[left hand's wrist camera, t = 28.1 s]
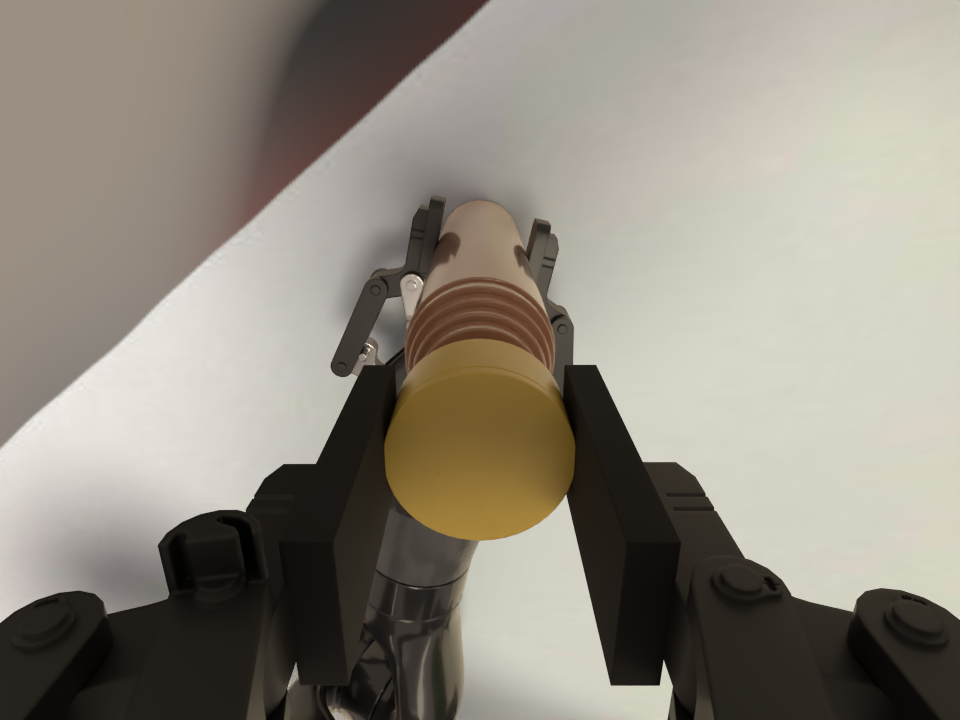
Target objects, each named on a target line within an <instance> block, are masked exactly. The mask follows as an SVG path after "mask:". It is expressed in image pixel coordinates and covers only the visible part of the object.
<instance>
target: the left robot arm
mask: <svg viewBox="0 0 960 720" xmlns="http://www.w3.org/2000/svg"><path fill="white" fill-rule="evenodd" d="M396 400H397V391H396V373H395V365H363V367H362V370H361V372H360V374H359V376H358V378H357V380H356V382H355V384H354V386H353V388H352V390H351V392H350V394H349V397H348V399H347V401H346V403H345V405H344V407H343V409H342V411H341V413H340V415H339V417H338V419H337V421H336V424H335V426H334V428H333V430H332V432H331V434H330V436H329V438H328V440H327V442H326V444H325V446H324V448H323V451H322V453H321V455H320V457H319V459H318V461H317V463H316V464H283V465H282V466H281V467H279V468H278V469H277V470H275V471H274V472H273V473H272V474H270V475H269V476H268V477H266V478H265V479H264V481H263V482H262V484H261V485H260V487H259V489H258V490H257V492H256V494H255V495H254V499H252V500H251V502H250V504H249V505H248V507H247V509H246V512H242V511H239V510H218V511H214V512H209V513H205V514H200V515H198V516H196V517H193V518H191V519H189V520H186V521H184V522H182V523H180V524H179V525H178V526H176V527H175V528H173V529H172V530H171V531H169V532H168V533H167V534H166V535H165V536H164V538H163V539H162V540H161V542H160V543H159V544H158V549H159V553H160V557H161V561H162V565H163V569H164V573H165V577H166V581H167V585H168V590H169V597H168V599H166V600H163V601H160V602H157V603H153V604H150V605H146V606H142V607H137V608H133V609H129V610H124V611H120V612H116V613H111V614H107V613H106V610H105V606H104V603H103V601H102V600H101V599H100V598H98V597H97V596H96V595H95V594H93V593H88V592H83V591H72V592H63V593H57V594H54V595H51V596H48V597H45V598H42V599H39V600H36V601H34V602H32V603H30V604H28V605H27V606H25V607H23V608H21V609H19V610H17V611H15V612H14V613H12V614H11V615H10V616H9V617H7V618H6V619H5V620H4V621H2V622H1V623H0V720H290V714H291V710H290V703H289V696H288V690H287V686H288V684H289V681H290V678H291V675H292V672H293V669H294V666H295V663H296V662H297V669H298V675H299V682H300V685H349V682H350V678H351V673H352V669H353V665H354V660H355V656H356V652H357V648H358V643H359V639H360V635H361V630H362V626H363V622H364V618H365V613H366V609H367V605H368V600H369V596H370V592H371V587H372V583H373V579H374V575H375V570H376V566H377V562H378V557H379V553H380V549H381V545H382V540H383V536H384V532H385V527H386V523H387V519H388V515H389V510H390V506H391V502H392V497H393V492H392V490H391V488H390V486H389V484H388V481H387V478H386V469H385V454H384V440H385V437H386V433H387V430H388V427H389V423H390V420H391V417H392V413H393V410H394V407H395V403H396ZM563 401H564V404H565V408H566V411H567V414H568V418H569V421H570V424H571V427H572V431H573V434H574V438H575V443H576V447H575V463H574V476H573V480H572V483H571V485H570V487H569V490H568V492H567V493H566V495H567V499H568V503H569V508H570V512H571V516H572V520H573V525H574V529H575V533H576V538H577V542H578V546H579V551H580V555H581V559H582V563H583V568H584V572H585V576H586V581H587V585H588V589H589V593H590V598H591V602H592V606H593V611H594V615H595V619H596V623H597V628H598V632H599V636H600V641H601V645H602V649H603V653H604V658H605V662H606V666H607V671H608V675H609V679H610V684H611V685H660V679H661V673H662V666H663V660H664V661H665V664H666V667H667V670H668V673H669V676H670V679H671V682H672V685H673V690H672V696H671V702H670V708H669V714H668V720H960V620H959V619H958V618H956V617H955V616H954V615H953V614H951V613H950V612H949V611H948V610H946V609H945V608H943V607H941V606H939V605H937V604H935V603H933V602H931V601H929V600H927V599H925V598H923V597H920V596H917V595H914V594H911V593H908V592H905V591H902V590H893V589H884V588H880V589H875V590H870V591H866V592H864V593H863V594H862V595H861V596H860V597H859V598H858V599H857V601H856V605H855V608H854V611H853V612H851V611H846V610H842V609H838V608H833V607H829V606H824V605H820V604H816V603H811V602H808V601H805V600H801V599H798V598H795V597H793V596H791V593H790V592H789V590H788V589H787V587H786V585H785V584H784V582H783V581H782V580H781V579H780V578H779V577H778V576H776V575H775V574H774V573H773V572H772V571H770V570H769V569H768V568H766V567H764V566H762V565H760V564H758V563H756V562H753V561H751V560H749V559H745V557H744V556H743V554H742V553H741V551H740V549H739V548H738V546H737V544H736V543H735V541H734V539H733V538H732V536H731V535H730V533H729V531H728V530H727V528H726V526H725V525H724V523H723V521H722V520H721V518H720V517H719V515H718V513H717V512H716V511H714V507H713V505H712V503H711V502H710V500H709V499H708V497H706V495H705V492H704V490H703V489H702V487H701V485H700V484H699V482H698V480H697V479H696V477H695V476H694V475H692V474H691V473H690V472H688V471H687V470H686V469H684V468H683V467H681V466H680V465H679V464H677V463H676V462H642V460H641V458H640V456H639V453H638V451H637V449H636V447H635V445H634V443H633V441H632V439H631V437H630V435H629V433H628V431H627V429H626V426H625V424H624V422H623V420H622V418H621V416H620V414H619V412H618V410H617V408H616V406H615V404H614V402H613V399H612V397H611V395H610V393H609V391H608V389H607V387H606V385H605V383H604V381H603V379H602V377H601V374H600V372H599V370H598V368H597V366H596V365H565V366H564V384H563Z"/></svg>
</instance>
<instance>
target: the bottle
mask: <svg viewBox="0 0 960 720" xmlns="http://www.w3.org/2000/svg"><path fill="white" fill-rule="evenodd" d="M467 339H492V340H498V341H503V342H506V343H509V344H512V345H515V346H517V347H519V348H522V349H523V350H525V351H527V352H528V353H530V354H532V355H533V356H534V357H536V358H537V359H538V360H539V361H540V362H541V363H542V364H543V365H544V366H545V367H546V368H547V369H548V370H549V372H550V373H551V374H552V373H553V369H554V363H555V339H554V333H553V329H552V325H551V323H550V320H549V317H548V314H547V311H546V309H545V306H544V303H543V300H542V297H541V294H540V292H539V289H538V286H537V283H536V280H535V278H534V275H533V272H532V269H531V266H530V264H529V261H528V258H527V255H526V252H525V250H524V247H523V244H522V241H521V238H520V236H519V233H518V230H517V227H516V225H515V222H514V220H513V218H512V217H511V216H510V214H509V213H508V212H507V211H506V210H505V209H504V208H502V207H501V206H499V205H498V204H496V203H493V202H490V201H485V200H475V201H470V202H467V203H464V204H462V205H461V206H459V207H457V208H456V209H455V210H454V211H453V212H452V213H451V214H450V215H449V217H448V218H447V220H446V222H445V224H444V227H443V230H442V233H441V235H440V238H439V241H438V244H437V247H436V250H435V252H434V255H433V258H432V261H431V263H430V266H429V269H428V272H427V275H426V277H425V280H424V283H423V286H422V289H421V291H420V294H419V297H418V300H417V303H416V306H415V308H414V311H413V314H412V317H411V320H410V322H409V325H408V328H407V332H406V337H405V365H406V370H407V374H409V372H410V371H411V370H412V369H413V367H414V366H415V365H416V364H417V363H418V362H419V361H421V360H422V359H423V358H424V357H425V356H427V355H428V354H430V353H431V352H433V351H434V350H436V349H438V348H440V347H442V346H445V345H447V344H450V343H453V342H457V341H462V340H467Z"/></svg>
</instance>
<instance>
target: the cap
mask: <svg viewBox="0 0 960 720" xmlns="http://www.w3.org/2000/svg"><path fill="white" fill-rule="evenodd" d="M575 447H576V443H575V438H574V434H573V431H572V427H571V424H570V421H569V418H568V414H567V411H566V408H565V404H564V401H563V398H562V395H561V392H560V389H559V386H558V384H557V383H556V381H555V379H554V377H553V376H552V374H551V373H550V372H549V370H548V369H547V368H546V367H545V366H544V365H543V364H542V363H541V362H540V361H539V360H538V359H537V358H536V357H534V356H533V355H532V354H530V353H528V352H527V351H525V350H523V349H522V348H519V347H517V346H515V345H512V344H509V343H506V342H503V341H498V340H492V339H467V340H462V341H457V342H453V343H450V344H447V345H445V346H442V347H440V348H438V349H436V350H434V351H433V352H431V353H430V354H428V355H427V356H425V357H424V358H423V359H422V360H421V361H419V362H418V363H417V364H416V365H415V366H414V367H413V369H412V370H411V371H410V372H409V374H408V375H407V377H406V378H405V380H404V382H403V384H402V386H401V388H400V390H399V393H398V397H397V400H396V403H395V407H394V410H393V413H392V417H391V420H390V423H389V427H388V430H387V433H386V437H385V440H384V454H385V469H386V478H387V481H388V484H389V486H390V488H391V490H392V492H393V494H394V496H395V497H396V499H397V500H398V502H399V503H400V504H401V505H402V507H403V508H404V509H405V510H406V511H407V512H408V513H409V514H410V515H411V516H413V517H414V518H415V519H416V520H418V521H419V522H420V523H422V524H423V525H425V526H427V527H429V528H431V529H433V530H435V531H437V532H439V533H442V534H445V535H447V536H451V537H455V538H460V539H467V540H494V539H499V538H505V537H508V536H512V535H515V534H518V533H520V532H523V531H525V530H527V529H529V528H531V527H533V526H534V525H536V524H538V523H539V522H541V521H542V520H543V519H545V518H546V517H547V516H548V515H549V514H550V513H551V512H553V511H554V510H555V509H556V507H557V506H558V505H559V504H560V502H561V501H562V500H563V498H564V497H565V495H566V493H567V492H568V490H569V487H570V485H571V483H572V480H573V476H574V463H575Z"/></svg>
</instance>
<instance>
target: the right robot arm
mask: <svg viewBox="0 0 960 720" xmlns="http://www.w3.org/2000/svg"><path fill="white" fill-rule="evenodd" d="M445 202H446V198H442V197H438V196H432V198H431V200H430V205H429V206H424V205H421V206H420V208H419V209H418V211H417V212H416V214H415V216H414V217H413V222H412V228H411V234H410V240H409V246H408V252H407V258H406V263H405V265H404V266H402V267H400V268H396V269H389V270H388V269H385V268H379V269H377V270H376V271H374V273H373V274H372V276H371V278H370V279H369V280H368V281H367V282H366V284H365V286H364V288H363V291H362V293H361V295H360V297H359V300H358V302H357V304H356V307H355V309H354V311H353V314H352V316H351V318H350V321H349V323H348V325H347V327H346V330H345V332H344V334H343V337H342V339H341V341H340V344H339V346H338V348H337V351H336V353H335V355H334V357H333V360H332V362H331V370H332V371H333V373H334V374H335V375H337V376H340V377H346V376H348V375H350V374H351V373H352V374H354V375H357V376H359V374H360V372H361V370H362V367H363V365H395V373H396V391H397V397H398V393H399V390H400V388H401V386H402V384H403V382H404V380H405V378H406V377H407V375H408V374H407V370H406V365H405V347H404V348H402V349H401V350H400V351H399V352H398V353H397V354H396V355H395V356H393V357H392V358H391V359H390V360H389V361H388V362H387V363H385V364H383V363H381V362H380V361H379V359H378V357H377V352H378V344H377V342H376V341H375V340H374V339H372V338H370V337H369V335H370V333H371V331H372V329H373V326H374V324H375V322H376V320H377V318H378V315H379V313H380V311H381V309H382V306H383V304H384V302H385V300H386V298H392V297H399V296H402V299H403V304H404V310H405V315H406V329H407V328H408V325H409V322H410V320H411V317H412V314H413V311H414V308H415V306H416V303H417V300H418V297H419V294H420V291H421V289H422V286H423V283H424V280H425V277H426V275H427V272H428V269H429V266H430V263H431V261H432V258H433V255H434V252H435V250H436V247H437V244H438V240H439V234H440V229H441V224H442V218H443V213H444V207H445ZM550 230H551V225H550V223H549V222H548V221H545V220H541V219H536V218H535V219H534V222H533V226H532V230H531V234H530V238H529V242H528V246H527V250H526V255H527V258H528V261H529V264H530V266H531V269H532V272H533V275H534V278H535V280H536V283H537V286H538V289H539V292H540V294H541V297H542V300H543V303H544V306H545V309H546V311H547V314H548V317H549V320H550V323H551V325H552V329H553V333H554V339H555V363H554V369H553V373H552V376H553V377H554V379H555V381H556V383H557V384H558V386H559V389H560V392H561V395H562V398H563V384H564V366H565V365H573V335H574V327H573V324H572V322H571V319H570V317H569V315H568V313H567V311H566V309H565V308H564V307H562V306H560V305H556V304H555V303H553V302H551V301H550V300H549V299H548V298H547V292H548V288H549V284H550V280H551V276H552V273H553V268H554V265H555V261H556V257H557V254H558V250H559V248H558V240H557V238H556V236H555V235H554V234H551V233H550ZM478 543H479V540H467V539H460V538H455V537H451V536H447V535H445V534H442V533H439V532H437V531H435V530H433V529H431V528H429V527H427V526H425V525H423V524H422V523H420V522H419V521H418V520H416V519H415V518H414V517H413V516H411V515H410V514H409V513H408V512H407V511H406V510H405V509H404V508H403V507H402V505H401V504H400V503H399V502H398V500H397V499H396V497H395V496H394V494H393V497H392V502H391V506H390V510H389V515H388V519H387V523H386V527H385V532H384V536H383V540H382V545H381V549H380V553H379V557H378V562H377V566H376V570H375V575H374V579H373V583H372V587H371V592H370V596H369V600H368V605H367V609H366V613H365V618H364V622H363V626H362V630H361V635H360V639H359V643H358V648H357V652H356V656H355V660H354V665H353V669H352V673H351V678H350V682H349V685H300V682H299V677H298V678H297V679H296V680H295V681H294V683H293V684H292V685H291V686H290V687H289V688H288V696H289V703H290V710H291V714H290V720H335V719H334V717H333V716H332V714H333V713H334V712H336V711H338V712H339V713H340V714H342V715H343V716H344V717H345V718H346V719H347V720H455V719H456V717H457V714H458V711H459V708H460V703H461V699H462V694H463V685H464V660H463V648H462V635H461V618H460V608H459V605H460V601H461V597H462V593H463V590H464V586H465V582H466V578H467V574H468V570H469V566H470V562H471V559H472V556H473V554H474V552H475V549H476V547H477V545H478Z"/></svg>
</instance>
